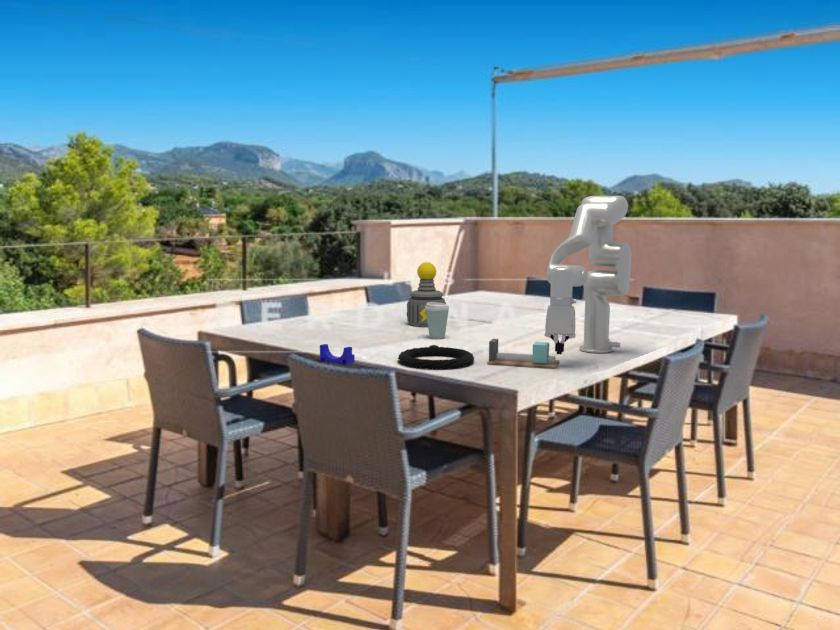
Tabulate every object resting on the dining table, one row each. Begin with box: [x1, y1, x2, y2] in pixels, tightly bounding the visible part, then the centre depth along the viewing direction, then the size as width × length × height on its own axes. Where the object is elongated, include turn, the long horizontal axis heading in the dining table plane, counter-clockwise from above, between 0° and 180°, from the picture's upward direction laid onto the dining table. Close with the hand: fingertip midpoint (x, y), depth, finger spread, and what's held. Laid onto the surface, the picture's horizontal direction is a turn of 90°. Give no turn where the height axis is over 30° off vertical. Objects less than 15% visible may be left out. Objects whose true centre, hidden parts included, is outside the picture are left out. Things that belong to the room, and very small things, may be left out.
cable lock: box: [397, 344, 475, 371], centre depth 267 cm, size 28×4×30 cm
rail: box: [496, 351, 556, 364], centre depth 264 cm, size 21×2×2 cm, turn 73°
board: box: [486, 359, 560, 370], centre depth 264 cm, size 24×12×1 cm, turn 73°
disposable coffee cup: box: [425, 302, 450, 340], centre depth 315 cm, size 11×11×15 cm
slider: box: [532, 341, 550, 364], centre depth 262 cm, size 5×6×6 cm
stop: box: [488, 338, 499, 361], centre depth 267 cm, size 2×7×7 cm, turn 163°
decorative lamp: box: [406, 261, 447, 328], centre depth 352 cm, size 19×19×30 cm
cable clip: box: [319, 343, 356, 365], centre depth 265 cm, size 12×4×6 cm, turn 61°
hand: (559, 353), depth 260 cm, fingers closed
